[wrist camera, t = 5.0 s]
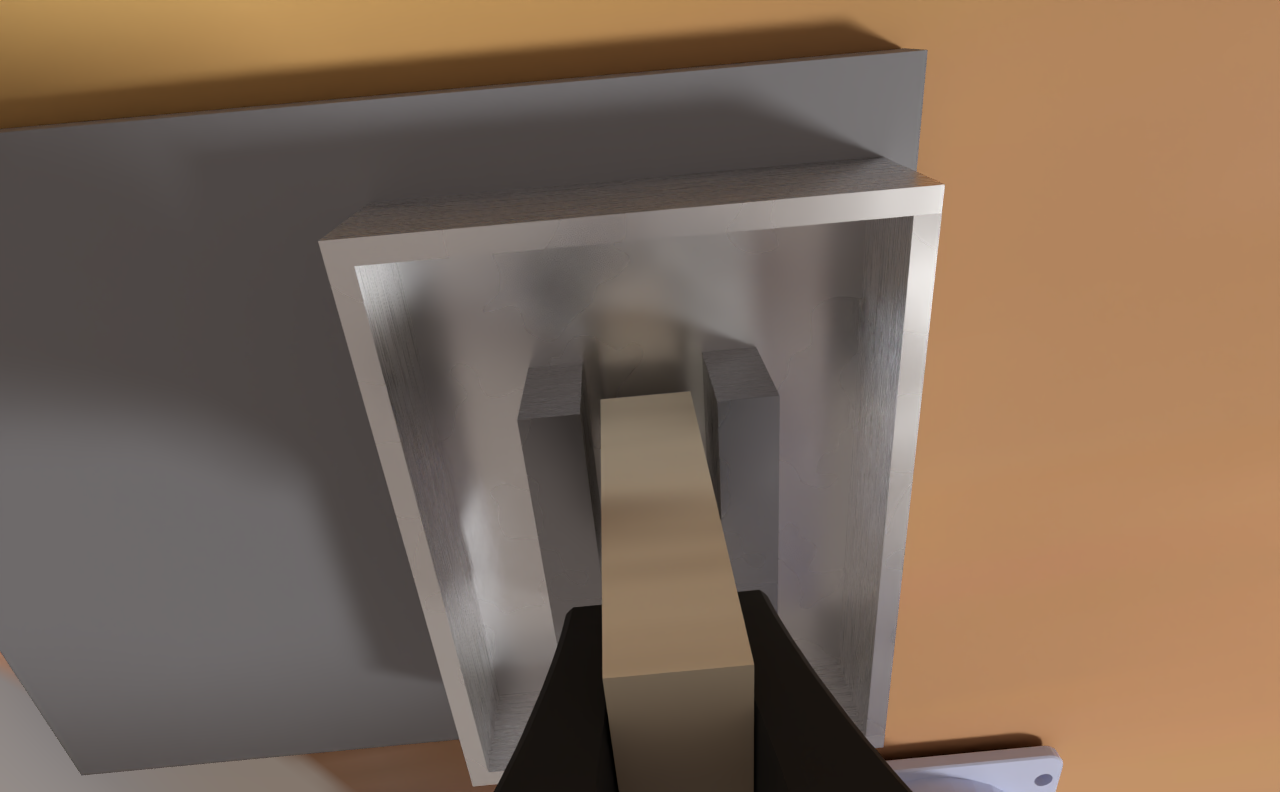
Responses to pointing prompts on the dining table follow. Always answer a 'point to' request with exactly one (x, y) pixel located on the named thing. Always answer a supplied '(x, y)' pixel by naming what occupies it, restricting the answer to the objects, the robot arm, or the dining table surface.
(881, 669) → the grey slotted tray
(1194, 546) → the dining table surface
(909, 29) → the dining table surface
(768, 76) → the charcoal board
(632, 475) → the wood wick
